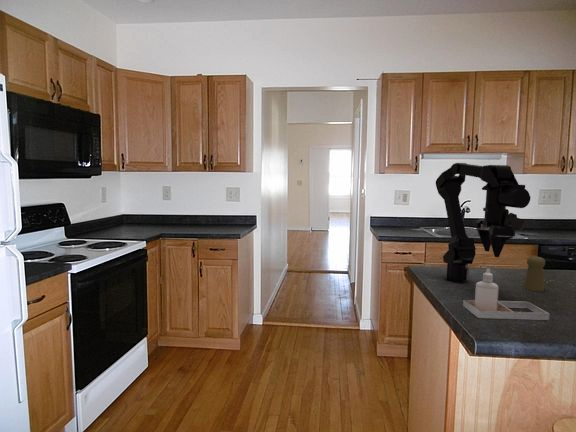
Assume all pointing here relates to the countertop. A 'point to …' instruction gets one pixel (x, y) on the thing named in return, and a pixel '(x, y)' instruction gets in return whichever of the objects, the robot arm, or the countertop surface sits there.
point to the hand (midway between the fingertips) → (491, 254)
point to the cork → (534, 274)
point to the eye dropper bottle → (486, 293)
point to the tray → (508, 311)
